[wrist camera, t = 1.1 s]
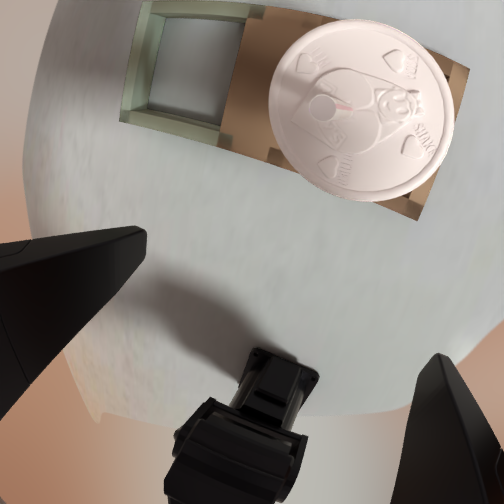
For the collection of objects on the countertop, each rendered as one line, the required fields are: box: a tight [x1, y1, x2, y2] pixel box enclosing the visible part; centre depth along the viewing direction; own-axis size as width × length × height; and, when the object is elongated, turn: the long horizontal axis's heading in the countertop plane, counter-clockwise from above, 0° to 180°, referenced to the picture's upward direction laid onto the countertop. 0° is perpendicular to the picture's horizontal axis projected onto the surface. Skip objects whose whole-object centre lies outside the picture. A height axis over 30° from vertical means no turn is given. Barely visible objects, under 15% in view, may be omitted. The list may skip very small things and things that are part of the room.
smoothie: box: [269, 19, 454, 202], centre depth 11 cm, size 6×6×14 cm
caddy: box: [119, 0, 470, 221], centre depth 18 cm, size 10×22×2 cm, turn 75°
